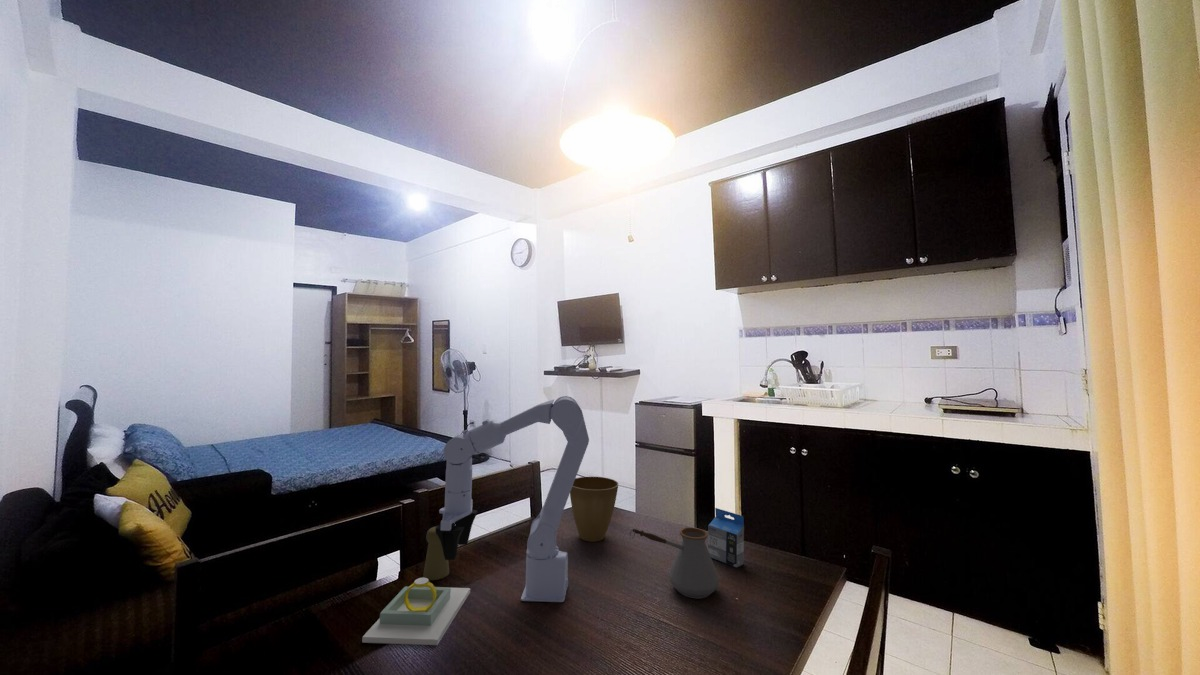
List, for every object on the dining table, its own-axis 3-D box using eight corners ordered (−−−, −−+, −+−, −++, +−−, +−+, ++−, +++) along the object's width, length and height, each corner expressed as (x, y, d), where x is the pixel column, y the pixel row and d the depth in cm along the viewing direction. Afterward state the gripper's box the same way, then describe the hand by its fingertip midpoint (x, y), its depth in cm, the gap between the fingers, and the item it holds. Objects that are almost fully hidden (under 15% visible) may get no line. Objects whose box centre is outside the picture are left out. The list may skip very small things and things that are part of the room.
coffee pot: (703, 574, 107) (703, 512, 108) (729, 599, 96) (729, 530, 97) (621, 585, 101) (622, 520, 102) (638, 613, 90) (639, 539, 91)
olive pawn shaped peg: (440, 581, 102) (442, 533, 102) (417, 578, 103) (419, 531, 104) (454, 569, 108) (455, 524, 108) (432, 566, 109) (433, 522, 109)
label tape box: (707, 556, 117) (707, 510, 117) (715, 552, 119) (715, 507, 120) (736, 568, 110) (736, 519, 111) (744, 563, 113) (744, 515, 114)
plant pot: (600, 552, 119) (600, 492, 120) (557, 539, 127) (558, 483, 128) (626, 534, 131) (627, 480, 132) (586, 523, 139) (587, 473, 140)
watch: (435, 607, 90) (439, 577, 90) (432, 614, 87) (435, 584, 88) (405, 606, 89) (409, 576, 90) (401, 614, 86) (405, 583, 87)
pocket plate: (470, 592, 97) (470, 579, 97) (437, 645, 79) (437, 628, 79) (408, 590, 97) (409, 577, 98) (362, 642, 79) (363, 625, 80)
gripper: (453, 480, 105) (451, 537, 104) (427, 499, 90) (424, 566, 89) (481, 480, 104) (480, 538, 104) (460, 500, 90) (458, 567, 89)
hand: (456, 551), depth 97 cm, fingers open, 7 cm apart
